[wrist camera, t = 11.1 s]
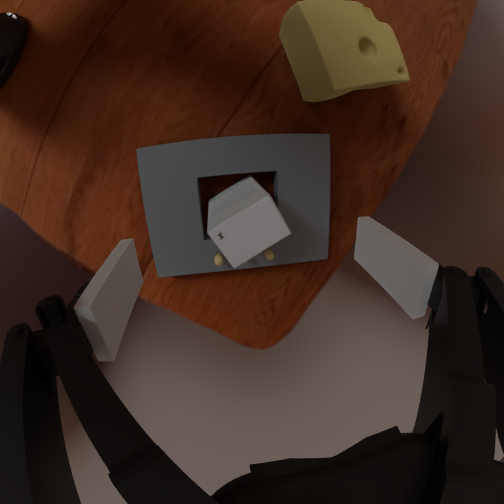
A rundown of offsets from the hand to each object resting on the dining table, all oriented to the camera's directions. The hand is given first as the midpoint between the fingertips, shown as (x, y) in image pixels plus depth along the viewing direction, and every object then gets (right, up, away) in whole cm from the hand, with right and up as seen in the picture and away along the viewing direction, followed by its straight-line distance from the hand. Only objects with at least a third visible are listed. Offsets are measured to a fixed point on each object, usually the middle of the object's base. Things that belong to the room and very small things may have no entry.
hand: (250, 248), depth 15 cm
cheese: (+9, +24, +12) cm, 28 cm away
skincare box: (-2, +6, +18) cm, 20 cm away
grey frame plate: (-2, +6, +18) cm, 19 cm away
